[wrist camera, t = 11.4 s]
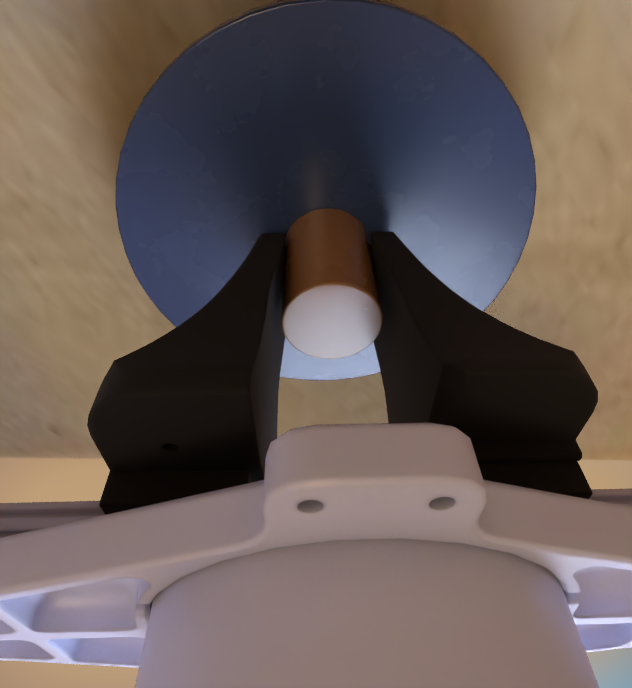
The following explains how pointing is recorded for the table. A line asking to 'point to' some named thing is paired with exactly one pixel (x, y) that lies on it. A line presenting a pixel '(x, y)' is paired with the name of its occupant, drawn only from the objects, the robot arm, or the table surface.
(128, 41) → the table surface
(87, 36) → the table surface
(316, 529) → the robot arm
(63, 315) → the table surface
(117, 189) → the lid
